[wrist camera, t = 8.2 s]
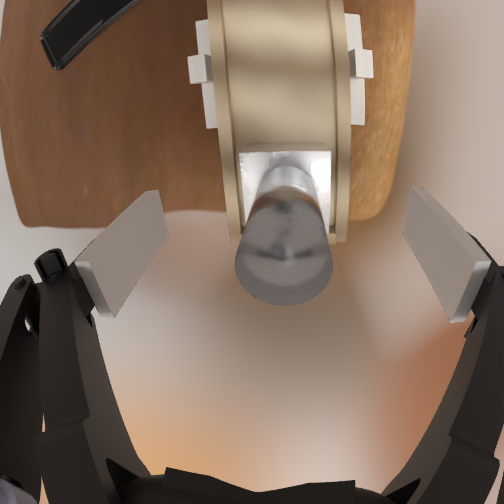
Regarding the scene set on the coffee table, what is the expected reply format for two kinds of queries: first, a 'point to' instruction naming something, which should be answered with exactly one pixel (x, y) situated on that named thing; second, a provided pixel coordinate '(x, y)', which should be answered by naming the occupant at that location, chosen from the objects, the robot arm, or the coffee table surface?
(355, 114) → the stand
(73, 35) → the phone
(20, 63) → the coffee table surface
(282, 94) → the beam
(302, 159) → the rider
